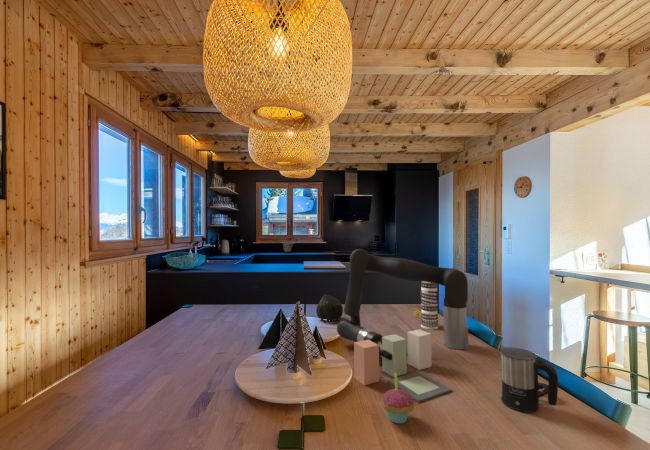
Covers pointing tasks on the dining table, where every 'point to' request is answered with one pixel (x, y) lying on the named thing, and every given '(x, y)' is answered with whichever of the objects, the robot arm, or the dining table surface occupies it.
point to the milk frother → (525, 380)
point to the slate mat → (420, 386)
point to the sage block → (394, 355)
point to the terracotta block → (366, 362)
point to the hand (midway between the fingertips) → (398, 355)
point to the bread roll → (418, 313)
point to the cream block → (419, 349)
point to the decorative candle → (429, 305)
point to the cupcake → (397, 403)
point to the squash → (329, 308)
